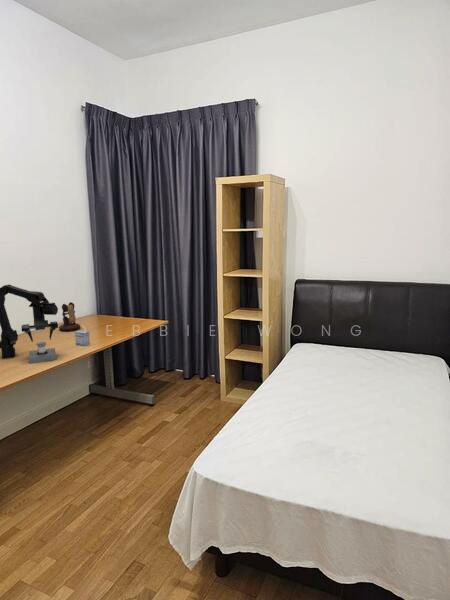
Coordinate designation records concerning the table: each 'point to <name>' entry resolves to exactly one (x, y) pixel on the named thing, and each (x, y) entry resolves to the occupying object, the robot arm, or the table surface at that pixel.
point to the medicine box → (82, 338)
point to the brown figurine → (69, 322)
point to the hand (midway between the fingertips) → (41, 340)
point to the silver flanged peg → (41, 348)
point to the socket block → (42, 356)
